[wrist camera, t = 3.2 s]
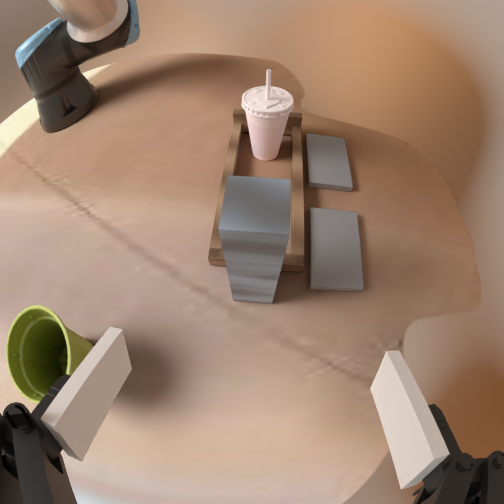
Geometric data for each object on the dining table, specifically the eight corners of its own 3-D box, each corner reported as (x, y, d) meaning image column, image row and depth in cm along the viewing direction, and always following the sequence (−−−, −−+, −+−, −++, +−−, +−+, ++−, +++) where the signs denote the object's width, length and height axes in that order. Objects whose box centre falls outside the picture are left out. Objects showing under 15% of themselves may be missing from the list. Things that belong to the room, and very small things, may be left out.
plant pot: (129, 371, 26) (87, 365, 18) (81, 417, 23) (33, 422, 15) (85, 310, 29) (42, 285, 21) (42, 356, 26) (-4, 343, 18)
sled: (235, 126, 41) (231, 43, 27) (299, 131, 40) (311, 48, 27) (205, 297, 29) (168, 226, 16) (300, 305, 29) (341, 238, 15)
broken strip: (305, 137, 40) (306, 133, 39) (342, 142, 40) (343, 138, 39) (309, 289, 30) (311, 286, 29) (360, 291, 30) (363, 288, 29)
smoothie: (240, 165, 38) (236, 78, 25) (246, 136, 40) (244, 56, 28) (286, 169, 37) (298, 83, 25) (288, 139, 40) (297, 60, 27)
